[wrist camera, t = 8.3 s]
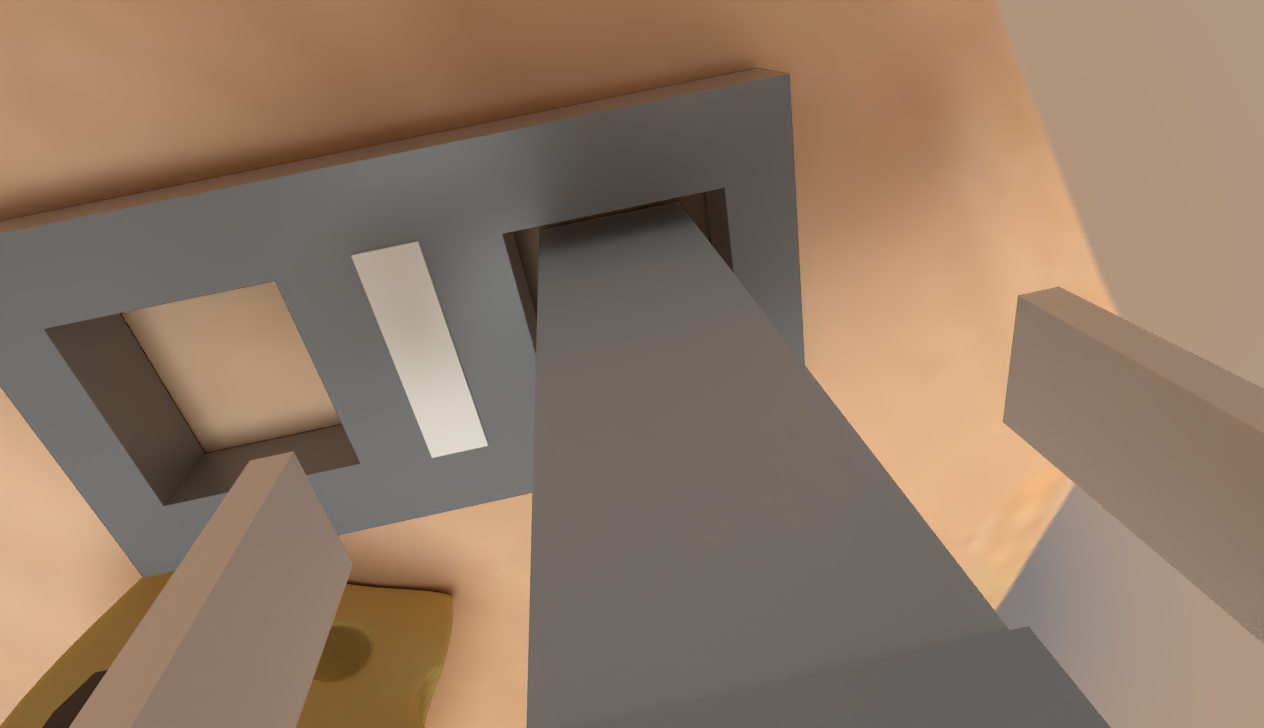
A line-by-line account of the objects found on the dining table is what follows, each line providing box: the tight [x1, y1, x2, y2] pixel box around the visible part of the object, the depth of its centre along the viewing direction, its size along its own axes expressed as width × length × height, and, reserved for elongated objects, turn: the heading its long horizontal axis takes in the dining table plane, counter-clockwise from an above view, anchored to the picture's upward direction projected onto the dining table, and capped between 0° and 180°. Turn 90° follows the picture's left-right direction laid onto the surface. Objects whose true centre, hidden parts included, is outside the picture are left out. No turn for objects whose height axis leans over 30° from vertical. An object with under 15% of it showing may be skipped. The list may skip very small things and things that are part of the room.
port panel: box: [0, 68, 805, 578], centre depth 18 cm, size 10×20×3 cm, turn 100°
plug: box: [527, 202, 1110, 728], centre depth 12 cm, size 4×4×16 cm
